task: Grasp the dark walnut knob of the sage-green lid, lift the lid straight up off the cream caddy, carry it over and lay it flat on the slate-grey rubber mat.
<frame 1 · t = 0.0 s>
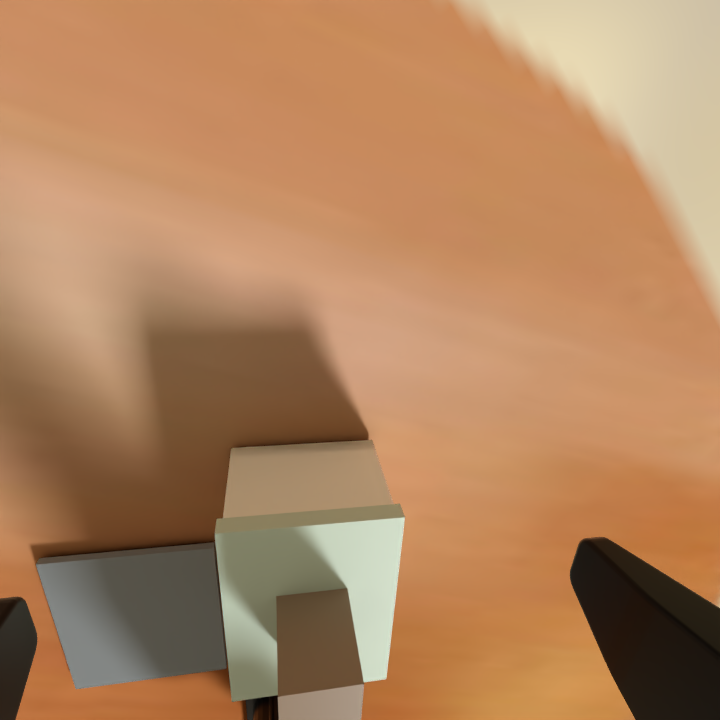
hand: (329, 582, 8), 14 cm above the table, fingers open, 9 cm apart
lid: (310, 600, 21), point 5 cm above the table, touching caddy
caddy: (303, 520, 26), on the table
mat: (142, 615, 27), on the table
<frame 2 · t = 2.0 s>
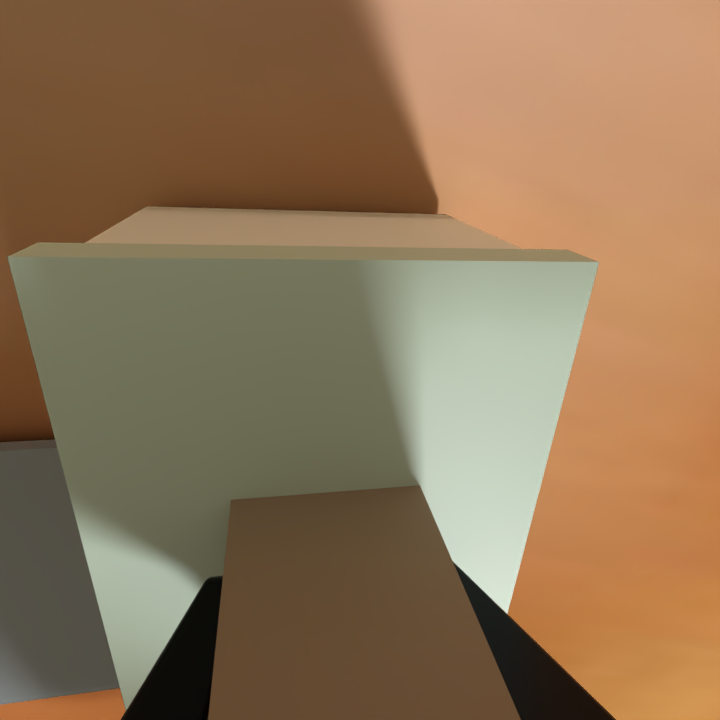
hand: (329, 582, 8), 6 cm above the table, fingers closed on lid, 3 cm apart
lid: (322, 527, 9), point 5 cm above the table, touching caddy, gripper
caddy: (304, 396, 13), on the table
mat: (2, 583, 14), on the table
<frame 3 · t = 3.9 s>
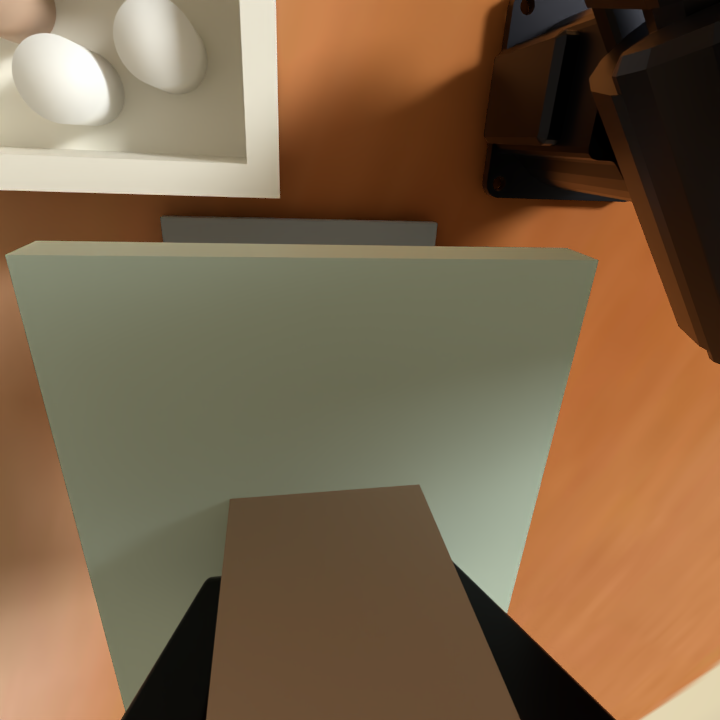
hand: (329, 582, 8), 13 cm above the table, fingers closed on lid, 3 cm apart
lid: (321, 526, 9), point 12 cm above the table, touching gripper
caddy: (108, 54, 15), on the table
mat: (305, 326, 19), on the table
when the fingers open (4 cm above the table, at t = 5.9 s): lid drops 1 cm, resting on mat.
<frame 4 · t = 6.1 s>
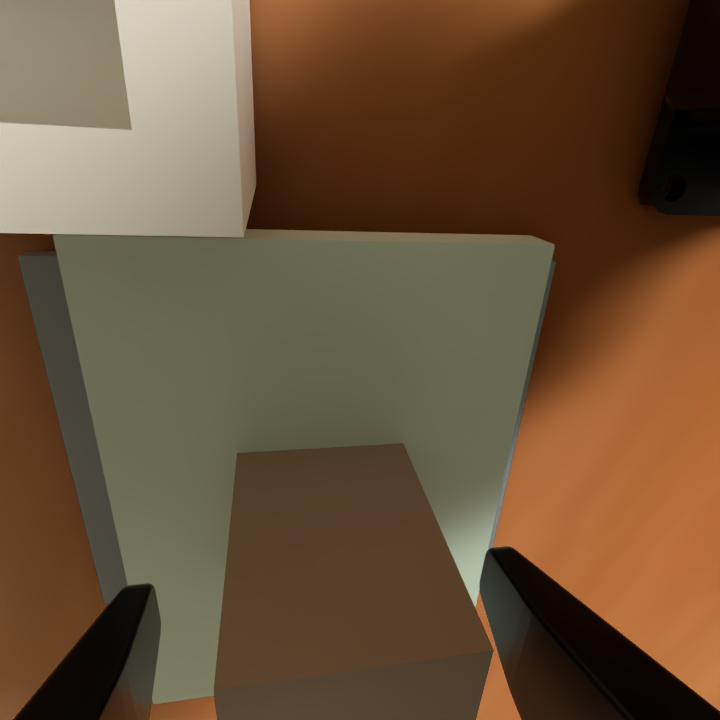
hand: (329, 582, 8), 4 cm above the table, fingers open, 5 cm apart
lid: (317, 485, 10), point 1 cm above the table, touching mat
mat: (310, 437, 11), on the table
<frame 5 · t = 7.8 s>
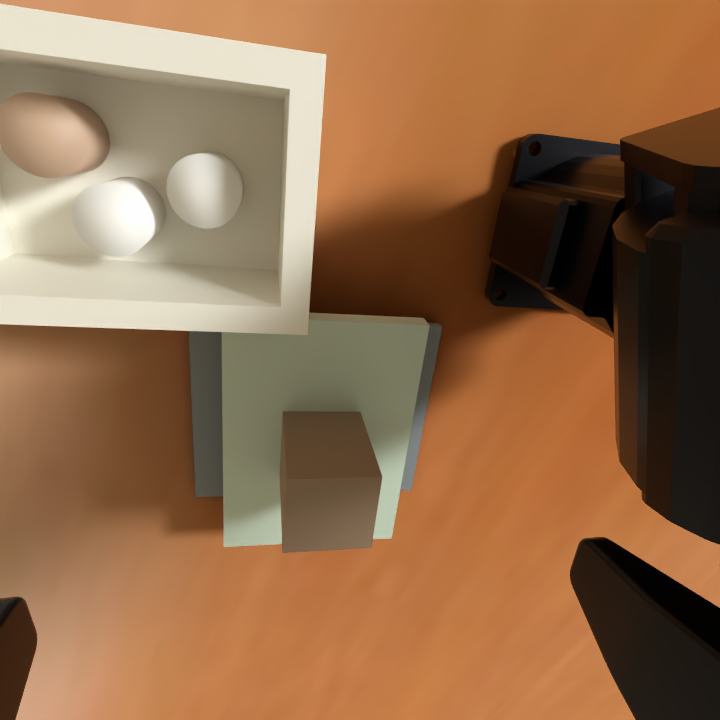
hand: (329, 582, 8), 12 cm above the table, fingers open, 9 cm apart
lid: (317, 432, 20), point 1 cm above the table, touching mat
caddy: (152, 176, 16), on the table
mat: (313, 410, 21), on the table
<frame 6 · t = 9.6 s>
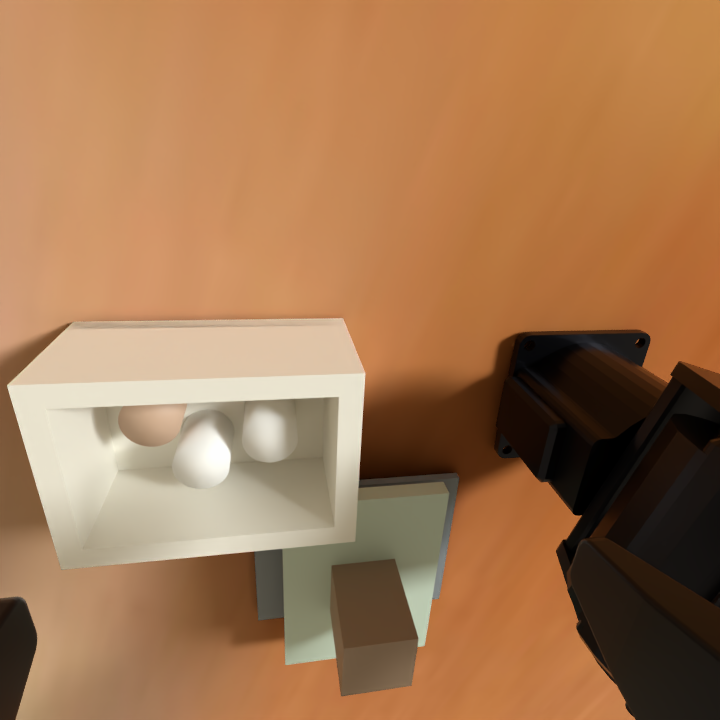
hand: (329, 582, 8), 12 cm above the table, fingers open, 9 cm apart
lid: (359, 571, 24), point 1 cm above the table, touching mat
caddy: (221, 399, 20), on the table
mat: (353, 545, 25), on the table
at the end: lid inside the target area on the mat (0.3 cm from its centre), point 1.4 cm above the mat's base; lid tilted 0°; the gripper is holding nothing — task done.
